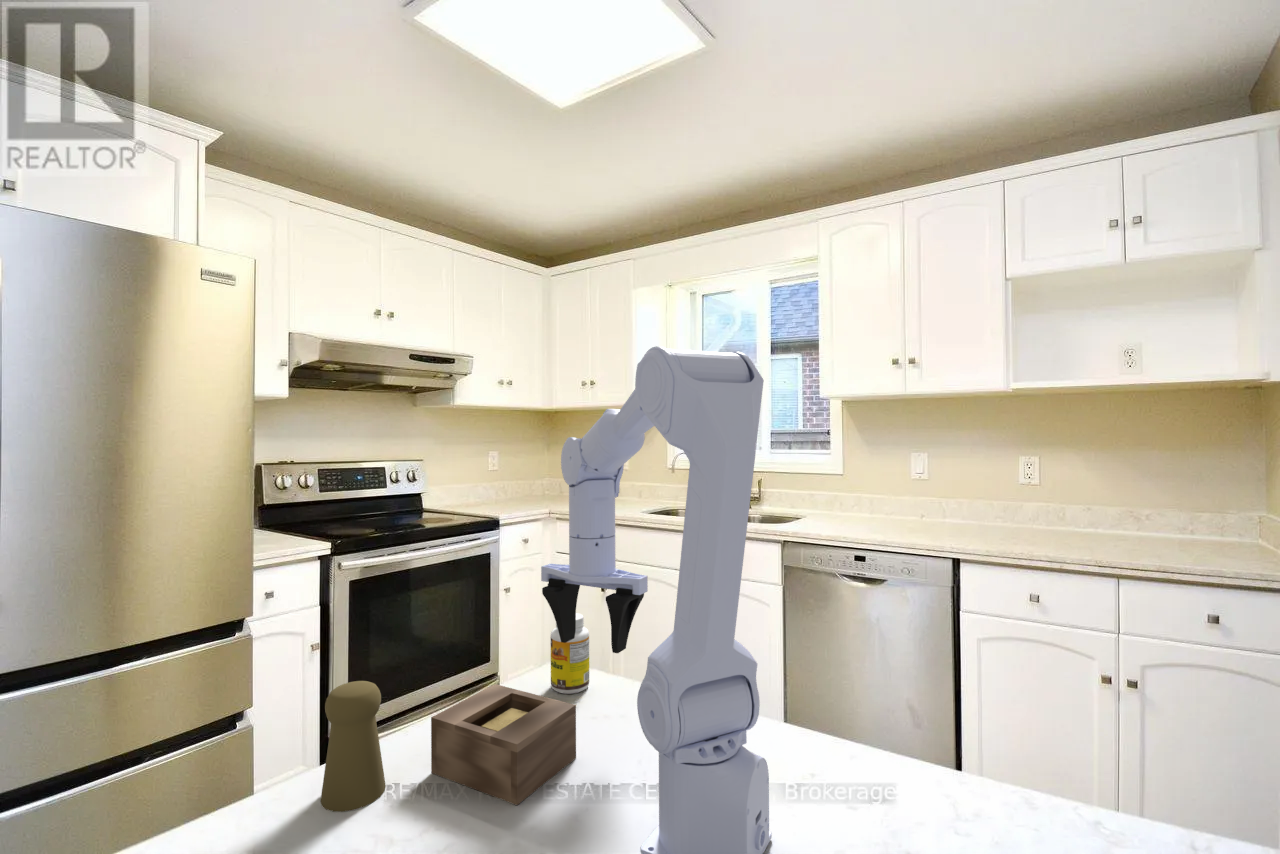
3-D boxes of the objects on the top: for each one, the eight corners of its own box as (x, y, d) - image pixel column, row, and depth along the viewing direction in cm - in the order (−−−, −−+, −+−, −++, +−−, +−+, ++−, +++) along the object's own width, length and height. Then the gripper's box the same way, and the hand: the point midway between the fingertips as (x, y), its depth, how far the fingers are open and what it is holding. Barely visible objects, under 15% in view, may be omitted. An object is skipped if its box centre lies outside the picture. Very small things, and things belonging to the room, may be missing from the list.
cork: (361, 815, 60) (360, 700, 60) (306, 807, 61) (306, 695, 61) (397, 780, 65) (397, 676, 66) (347, 774, 67) (346, 672, 67)
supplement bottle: (545, 684, 90) (544, 613, 90) (580, 676, 93) (580, 608, 93) (558, 698, 85) (558, 624, 85) (595, 690, 88) (595, 618, 88)
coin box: (576, 758, 70) (575, 704, 70) (517, 805, 61) (516, 744, 61) (495, 733, 75) (495, 684, 76) (431, 773, 67) (431, 717, 67)
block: (532, 757, 70) (532, 713, 70) (502, 779, 66) (502, 732, 66) (511, 751, 71) (511, 707, 71) (481, 772, 67) (481, 726, 67)
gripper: (659, 534, 76) (659, 645, 76) (564, 526, 83) (564, 627, 83) (630, 544, 70) (631, 663, 70) (530, 534, 77) (530, 643, 77)
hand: (592, 645), depth 76 cm, fingers open, 7 cm apart
